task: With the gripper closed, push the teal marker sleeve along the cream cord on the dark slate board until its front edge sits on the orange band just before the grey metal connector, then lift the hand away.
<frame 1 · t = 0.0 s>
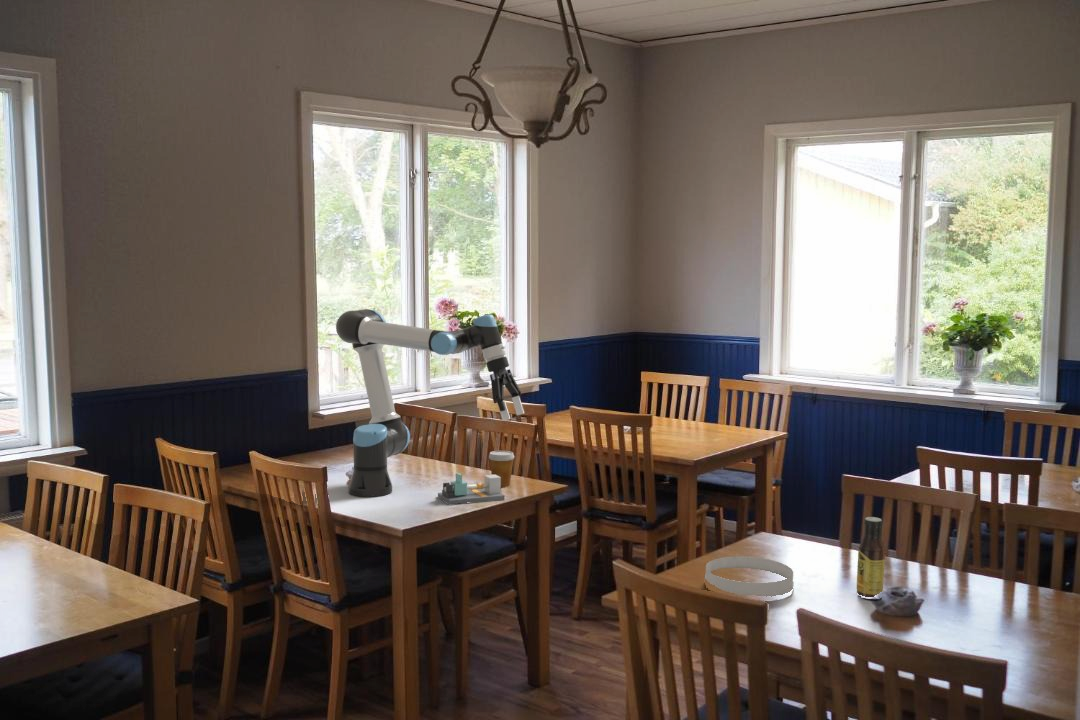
hand: (513, 417, 342), 28 cm above the table, tool tilted 20°, fingers open, 13 cm apart
ring: (748, 589, 250), on the table
sauce bottle: (869, 597, 243), on the table
disposable coffee cup: (501, 485, 362), on the table
cable board: (471, 498, 341), on the table
sleeve: (458, 483, 338), point 5 cm above the table, slide at 0.0 cm
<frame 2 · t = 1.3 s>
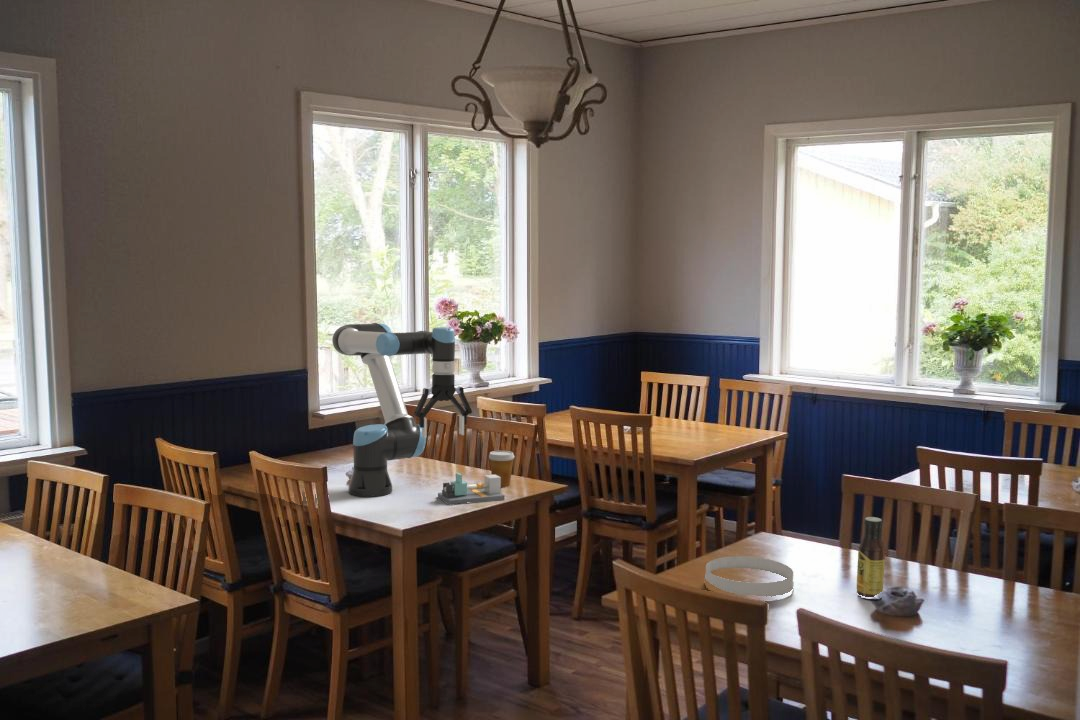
hand: (443, 435, 335), 22 cm above the table, tool pointing down, fingers open, 13 cm apart
nothing on the table moved.
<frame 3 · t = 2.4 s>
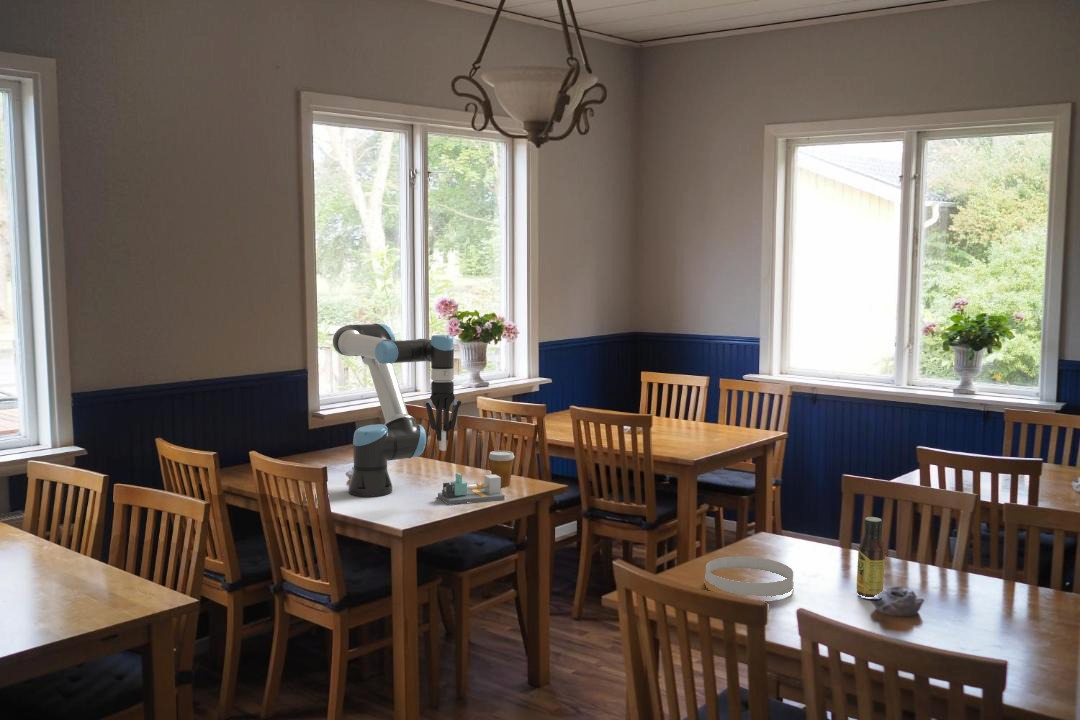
hand: (442, 449, 335), 18 cm above the table, tool pointing down, fingers closed
nothing on the table moved.
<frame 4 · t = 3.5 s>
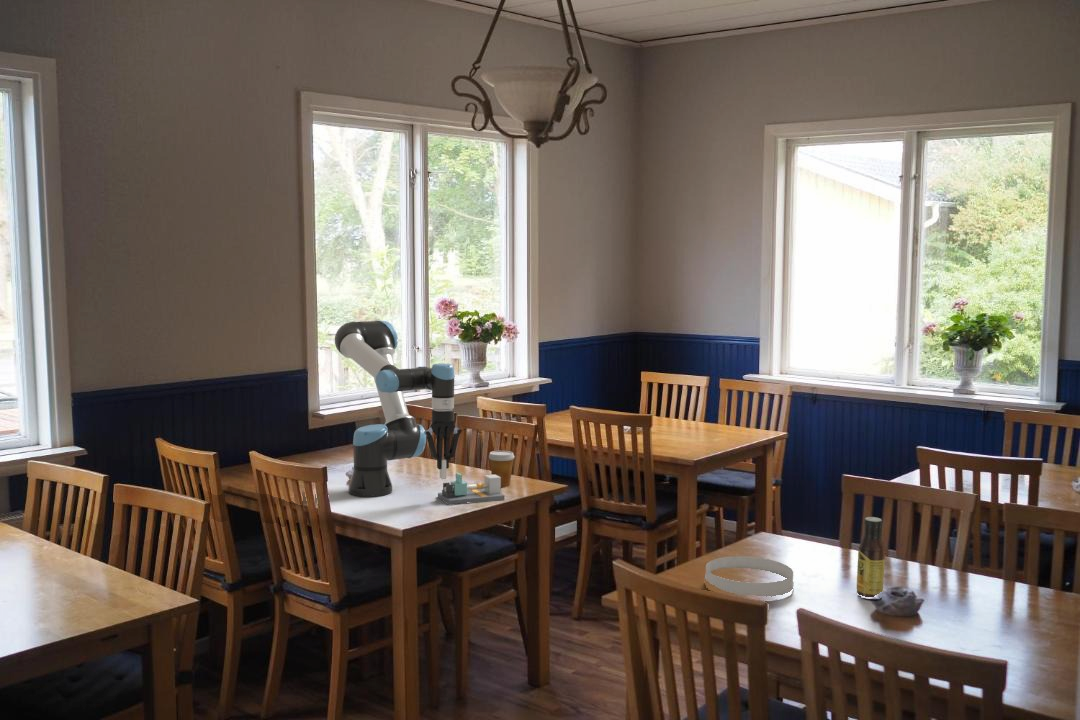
hand: (442, 478, 336), 8 cm above the table, tool pointing down, fingers closed
nothing on the table moved.
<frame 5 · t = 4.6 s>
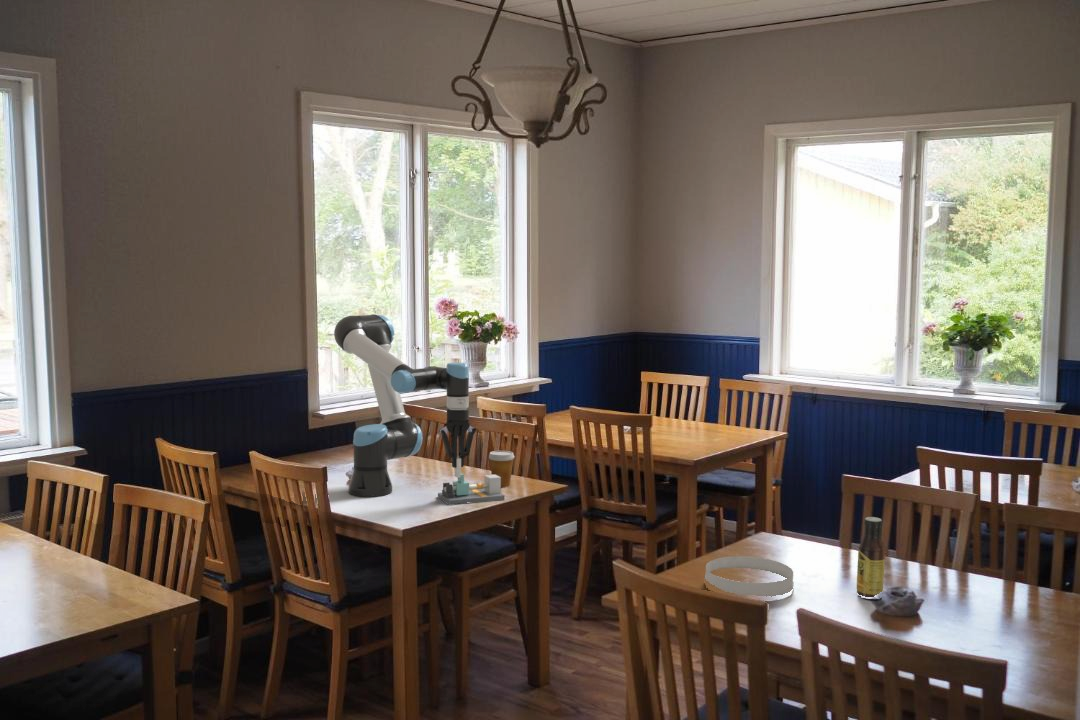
hand: (457, 476, 338), 8 cm above the table, tool pointing down, fingers closed
sleeve: (460, 483, 339), point 5 cm above the table, slide at 0.8 cm, touching gripper
everything else where it was.
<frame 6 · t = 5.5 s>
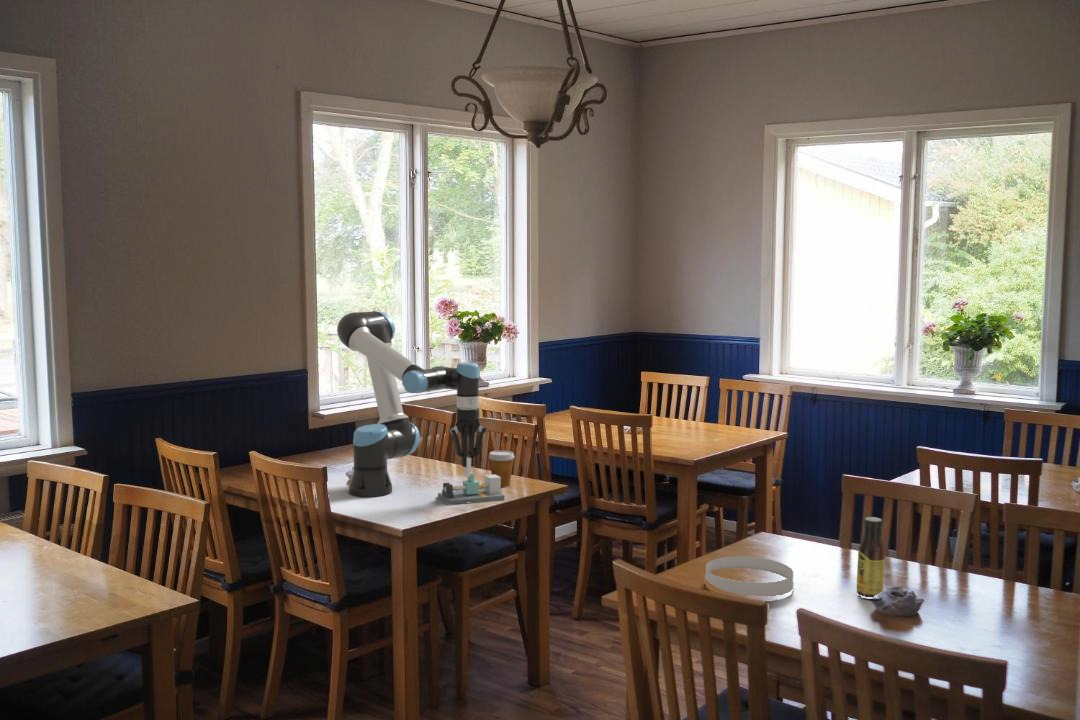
hand: (467, 476, 339), 8 cm above the table, tool pointing down, fingers closed
sleeve: (470, 482, 340), point 5 cm above the table, slide at 4.4 cm, touching gripper
everything else where it was.
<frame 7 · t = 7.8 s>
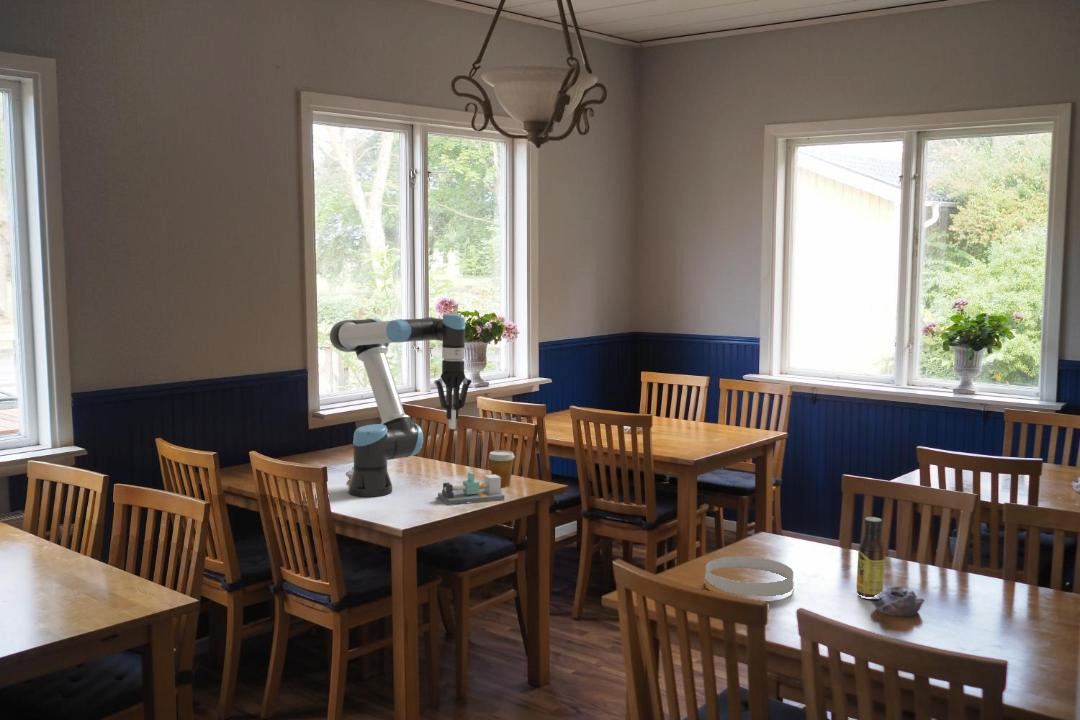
hand: (452, 428, 336), 25 cm above the table, tool pointing down, fingers closed
sleeve: (471, 482, 340), point 5 cm above the table, slide at 4.5 cm
everything else where it was.
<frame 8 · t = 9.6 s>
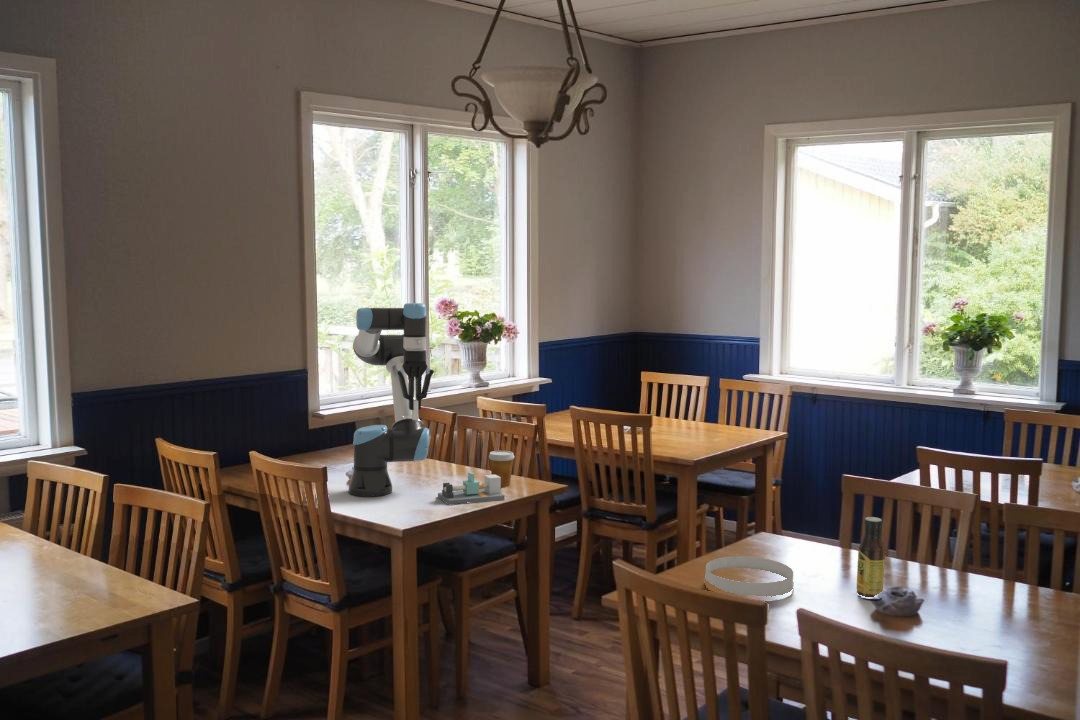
hand: (414, 419, 332), 28 cm above the table, tool pointing down, fingers closed
nothing on the table moved.
at the end: sleeve slide at 4.5 cm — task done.
